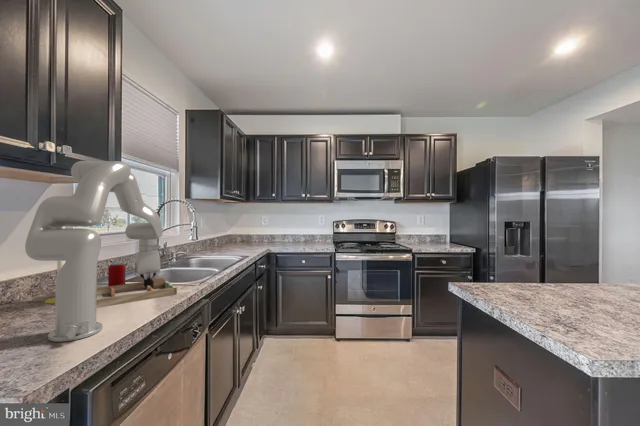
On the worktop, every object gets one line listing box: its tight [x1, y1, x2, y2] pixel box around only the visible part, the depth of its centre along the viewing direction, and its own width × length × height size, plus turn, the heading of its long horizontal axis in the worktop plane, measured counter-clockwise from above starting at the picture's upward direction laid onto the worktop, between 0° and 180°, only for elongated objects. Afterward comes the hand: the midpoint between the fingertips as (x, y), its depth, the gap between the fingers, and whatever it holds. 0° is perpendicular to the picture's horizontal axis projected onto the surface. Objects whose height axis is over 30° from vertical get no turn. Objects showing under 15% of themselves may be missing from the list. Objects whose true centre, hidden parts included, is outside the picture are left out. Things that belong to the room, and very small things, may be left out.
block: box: [151, 277, 166, 290], centre depth 142 cm, size 5×5×4 cm
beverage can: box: [107, 262, 127, 287], centre depth 140 cm, size 7×7×12 cm
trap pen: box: [96, 279, 178, 309], centre depth 129 cm, size 22×30×3 cm
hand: (147, 287), depth 138 cm, fingers closed
